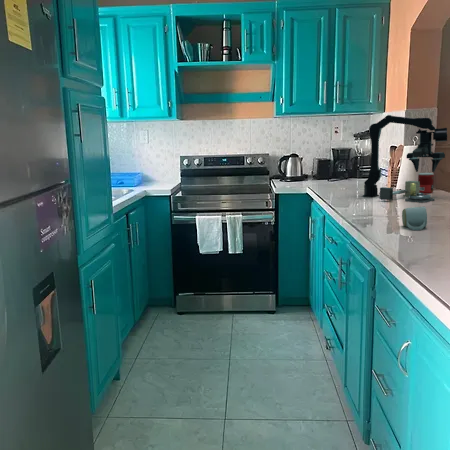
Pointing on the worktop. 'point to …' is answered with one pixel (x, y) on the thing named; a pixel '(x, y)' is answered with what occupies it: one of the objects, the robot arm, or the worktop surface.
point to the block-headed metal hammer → (389, 193)
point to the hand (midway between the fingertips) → (424, 172)
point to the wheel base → (420, 200)
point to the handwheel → (419, 195)
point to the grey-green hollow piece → (407, 187)
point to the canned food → (426, 182)
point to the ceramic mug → (414, 218)
